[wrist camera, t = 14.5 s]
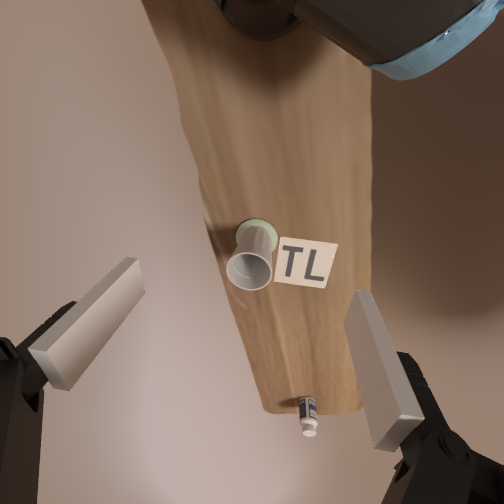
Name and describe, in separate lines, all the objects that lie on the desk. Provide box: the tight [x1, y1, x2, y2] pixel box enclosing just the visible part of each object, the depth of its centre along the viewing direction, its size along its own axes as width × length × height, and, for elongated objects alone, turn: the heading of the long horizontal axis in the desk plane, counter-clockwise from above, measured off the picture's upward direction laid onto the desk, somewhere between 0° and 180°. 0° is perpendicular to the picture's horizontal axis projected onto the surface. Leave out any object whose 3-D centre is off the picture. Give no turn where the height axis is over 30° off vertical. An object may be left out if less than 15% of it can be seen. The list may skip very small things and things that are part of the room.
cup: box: [226, 226, 272, 290], centre depth 47 cm, size 8×8×12 cm
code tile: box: [274, 237, 338, 288], centre depth 54 cm, size 12×12×1 cm
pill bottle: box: [299, 396, 317, 437], centre depth 78 cm, size 5×5×10 cm
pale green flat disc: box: [236, 219, 278, 251], centre depth 52 cm, size 9×9×1 cm
